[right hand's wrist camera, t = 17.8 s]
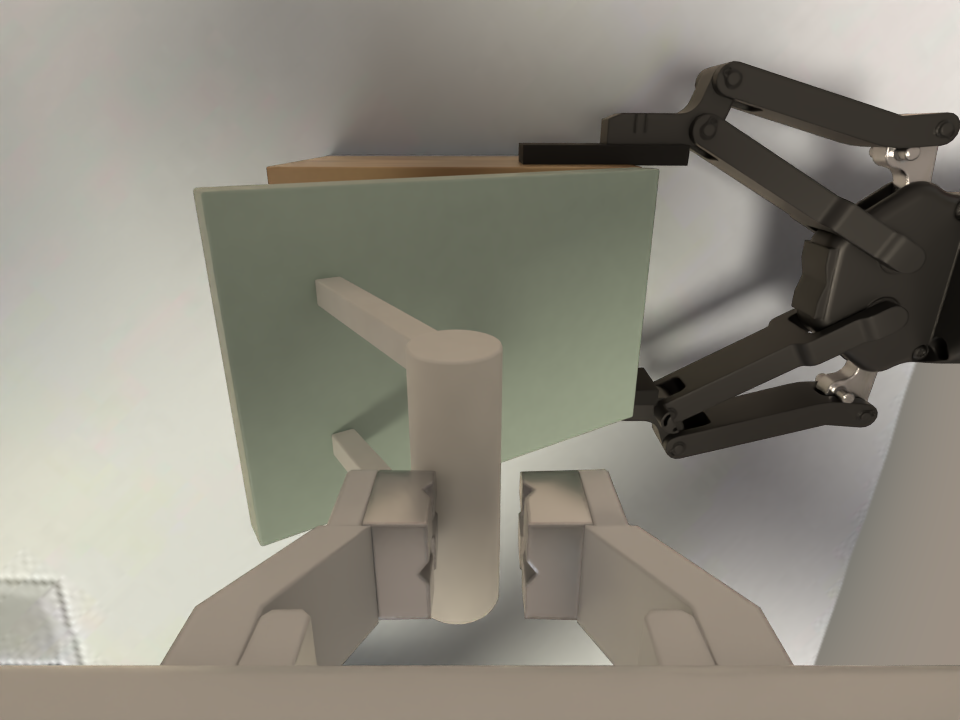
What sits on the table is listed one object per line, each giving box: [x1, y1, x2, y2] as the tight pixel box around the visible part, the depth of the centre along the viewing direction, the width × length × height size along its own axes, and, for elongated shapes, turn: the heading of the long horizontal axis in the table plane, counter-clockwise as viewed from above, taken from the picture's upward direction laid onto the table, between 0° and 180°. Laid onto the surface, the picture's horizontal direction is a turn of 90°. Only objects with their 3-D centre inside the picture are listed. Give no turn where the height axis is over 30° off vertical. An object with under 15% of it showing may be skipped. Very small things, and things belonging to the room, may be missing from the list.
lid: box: [193, 167, 659, 624], centre depth 16 cm, size 15×10×8 cm
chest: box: [266, 155, 642, 184], centre depth 28 cm, size 14×10×10 cm
